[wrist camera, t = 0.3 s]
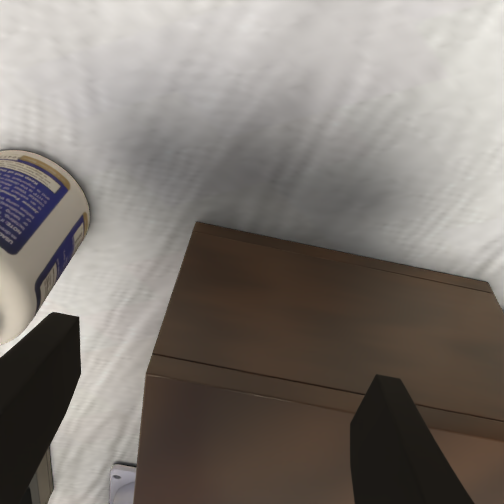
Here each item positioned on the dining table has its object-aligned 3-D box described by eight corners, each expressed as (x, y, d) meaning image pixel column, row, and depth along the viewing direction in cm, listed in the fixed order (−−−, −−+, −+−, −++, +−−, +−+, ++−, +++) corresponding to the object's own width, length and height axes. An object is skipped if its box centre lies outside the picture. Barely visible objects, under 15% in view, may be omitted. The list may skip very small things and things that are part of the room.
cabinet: (488, 282, 22) (578, 456, 15) (395, 428, 29) (426, 595, 22) (195, 221, 21) (145, 373, 14) (171, 385, 28) (128, 543, 21)
